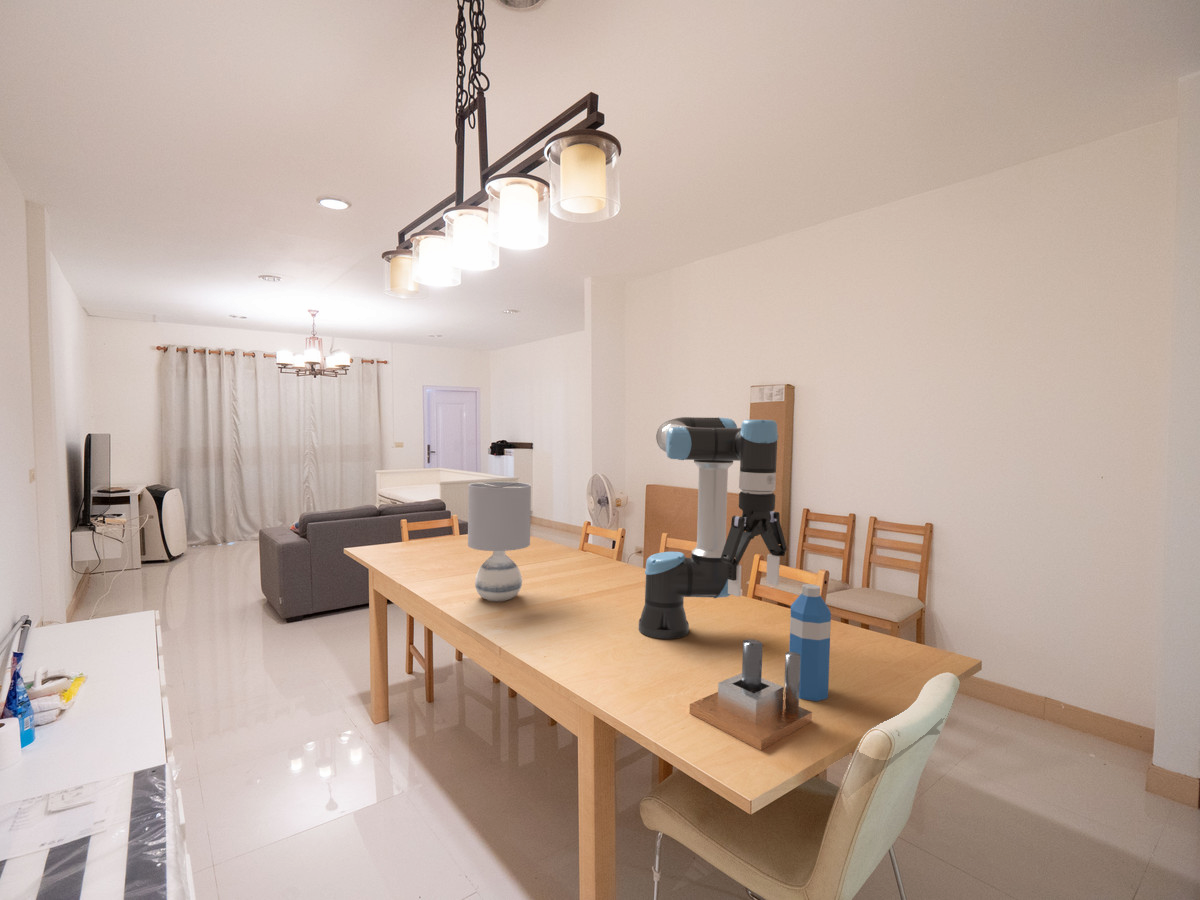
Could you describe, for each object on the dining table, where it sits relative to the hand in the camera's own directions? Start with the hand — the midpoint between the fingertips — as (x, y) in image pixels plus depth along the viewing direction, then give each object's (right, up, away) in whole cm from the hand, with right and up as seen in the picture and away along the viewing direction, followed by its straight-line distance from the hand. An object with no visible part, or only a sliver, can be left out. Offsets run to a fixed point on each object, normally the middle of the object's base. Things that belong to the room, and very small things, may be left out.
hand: (753, 589), depth 123 cm
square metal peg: (-1, -25, -2) cm, 25 cm away
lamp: (-69, -23, +79) cm, 108 cm away
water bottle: (+15, -27, +11) cm, 33 cm away
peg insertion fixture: (-1, -27, -2) cm, 27 cm away
